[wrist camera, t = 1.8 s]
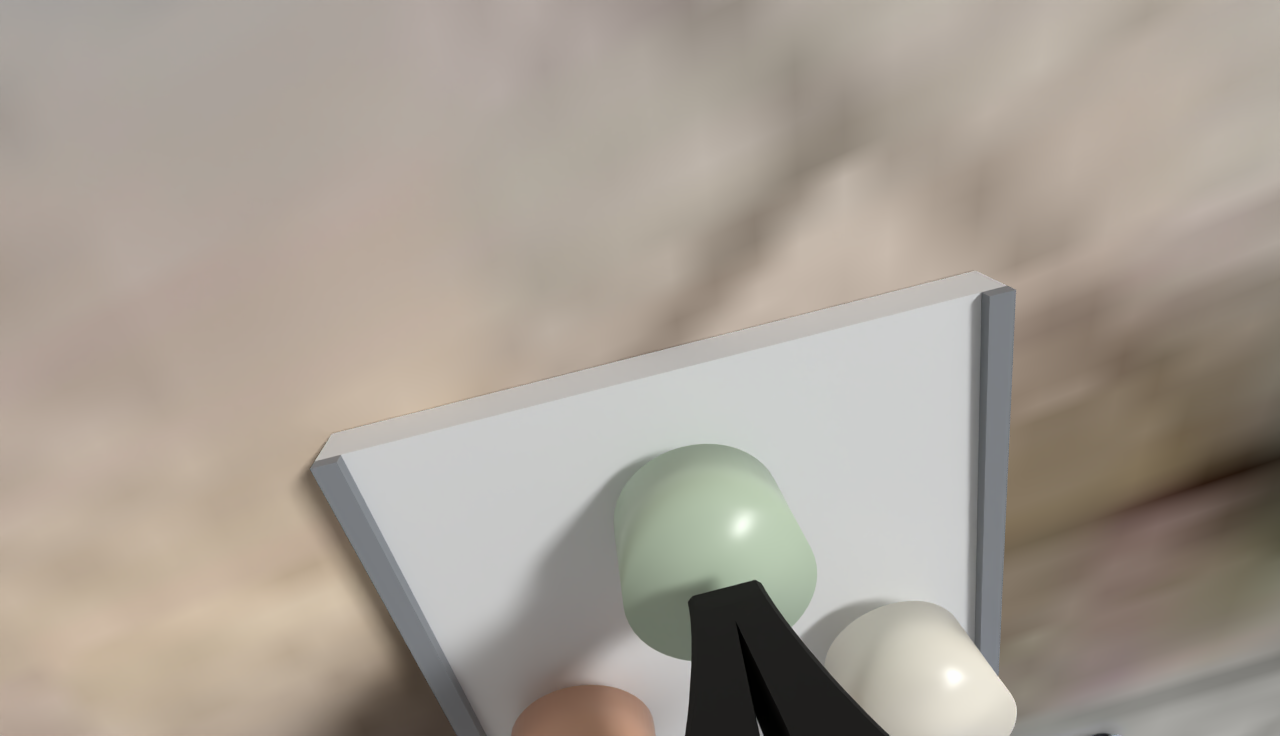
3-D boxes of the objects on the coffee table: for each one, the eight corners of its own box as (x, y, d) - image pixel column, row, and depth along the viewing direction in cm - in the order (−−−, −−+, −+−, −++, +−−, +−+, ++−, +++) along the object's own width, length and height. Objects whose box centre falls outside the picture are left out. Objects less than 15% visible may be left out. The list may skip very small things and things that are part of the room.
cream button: (961, 683, 19) (1013, 762, 17) (830, 716, 19) (866, 801, 17) (961, 585, 17) (1020, 660, 15) (817, 622, 17) (855, 702, 15)
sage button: (789, 557, 16) (825, 634, 14) (634, 598, 16) (646, 680, 14) (768, 424, 14) (806, 488, 12) (595, 469, 14) (601, 541, 12)
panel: (969, 659, 21) (997, 698, 20) (510, 778, 21) (507, 827, 20) (975, 270, 15) (1015, 289, 14) (331, 433, 15) (309, 469, 14)
